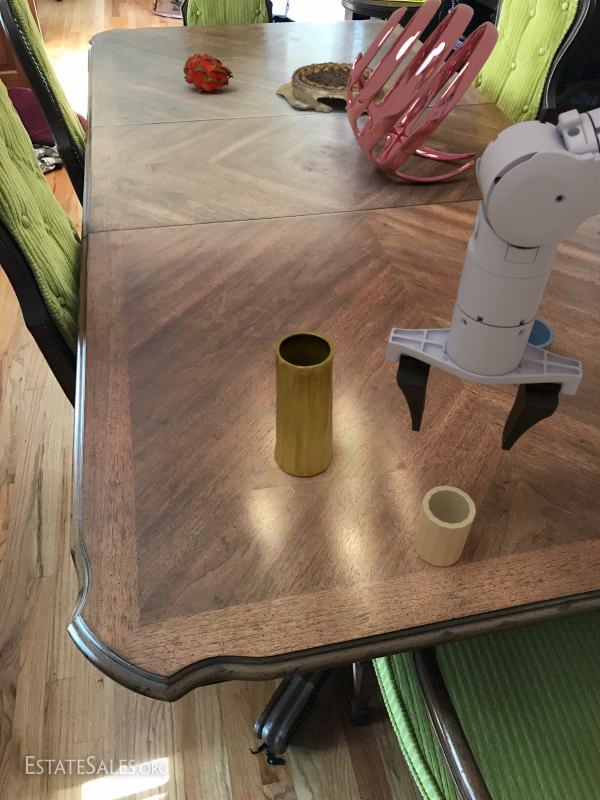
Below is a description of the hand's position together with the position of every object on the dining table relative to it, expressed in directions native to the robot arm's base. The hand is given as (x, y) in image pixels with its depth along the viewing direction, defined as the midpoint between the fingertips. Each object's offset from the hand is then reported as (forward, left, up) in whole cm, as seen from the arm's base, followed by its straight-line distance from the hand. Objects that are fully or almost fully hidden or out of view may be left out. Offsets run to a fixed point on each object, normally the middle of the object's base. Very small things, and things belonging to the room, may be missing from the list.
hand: (460, 432), depth 54 cm
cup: (-1, +5, -9) cm, 11 cm away
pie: (+61, -99, -10) cm, 117 cm away
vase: (+15, +2, -10) cm, 17 cm away
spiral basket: (+32, -70, -10) cm, 77 cm away
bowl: (-1, -25, -9) cm, 27 cm away
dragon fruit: (+89, -87, -10) cm, 125 cm away
